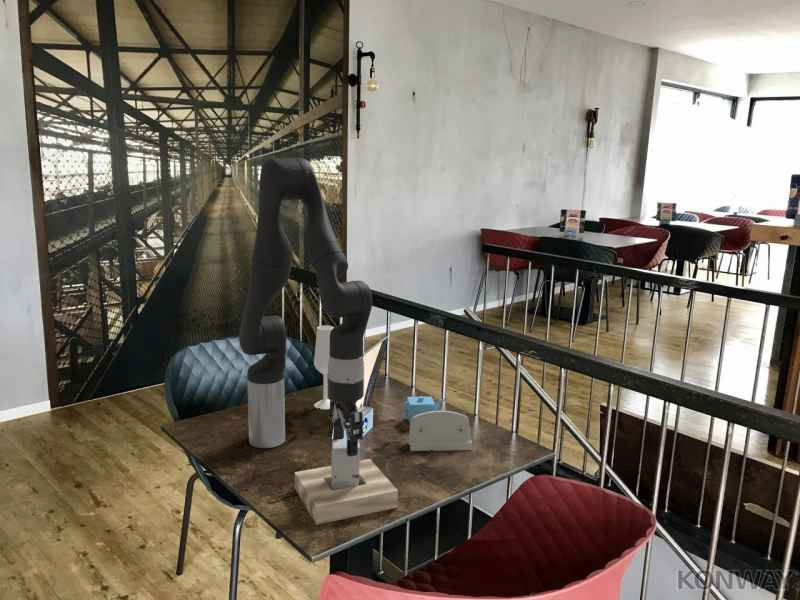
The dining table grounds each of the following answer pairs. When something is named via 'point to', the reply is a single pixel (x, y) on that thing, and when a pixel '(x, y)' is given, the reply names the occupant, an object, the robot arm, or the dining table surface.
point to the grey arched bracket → (439, 431)
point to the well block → (345, 493)
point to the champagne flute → (323, 361)
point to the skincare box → (344, 466)
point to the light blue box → (420, 406)
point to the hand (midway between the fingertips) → (345, 446)
